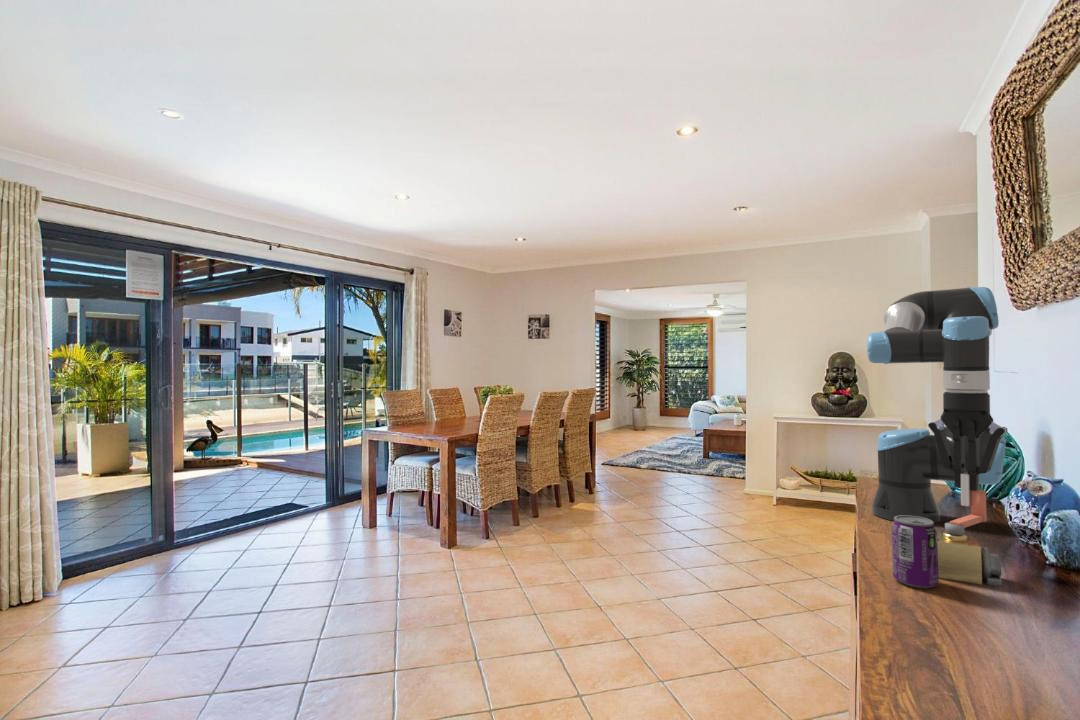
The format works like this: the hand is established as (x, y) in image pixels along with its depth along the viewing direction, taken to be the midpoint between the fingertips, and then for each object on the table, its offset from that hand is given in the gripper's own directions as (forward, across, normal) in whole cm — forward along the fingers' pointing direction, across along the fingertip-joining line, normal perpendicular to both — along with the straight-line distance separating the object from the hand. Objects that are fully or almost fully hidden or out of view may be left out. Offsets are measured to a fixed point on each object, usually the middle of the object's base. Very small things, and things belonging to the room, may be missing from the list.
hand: (966, 504), depth 109 cm
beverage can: (+12, -3, -20) cm, 23 cm away
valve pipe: (+12, +1, -10) cm, 15 cm away
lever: (+4, +1, -5) cm, 6 cm away
